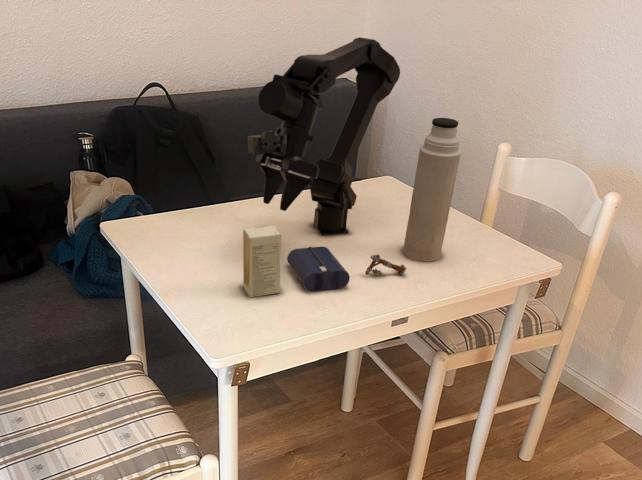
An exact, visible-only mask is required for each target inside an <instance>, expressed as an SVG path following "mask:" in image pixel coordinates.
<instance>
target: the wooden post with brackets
mask: <svg viewBox="0 0 642 480" xmlns="http://www.w3.org/2000/svg"><path fill="white" fill-rule="evenodd" d="M370 259H371V260H372V261H371V262H370V263H369V266H368V267H367V268H366V270H365V271H364V273H365V275H367V276H368V275H369V274H370V273H371V272H372V274H373V275H374V276H378V277H380V276H383V272H382V271H381V270H380V269H379V270H378V269H377V268H375V269H373V268H374V267H376V266H378V265H382V266H384V267H387V268H389V269H393V270H394V271H396V272H397V273H398V274H399V276H403V275H404V273H405V272H406V270H407V268H408V267H406V266H405V264H401V265H400V264H399V265H398V264H395V263H392V262H391V261H388V260H386V259H383V258H381V255H380V254H378V253H377V254H376V255H375V254H372V255H370Z"/></svg>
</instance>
